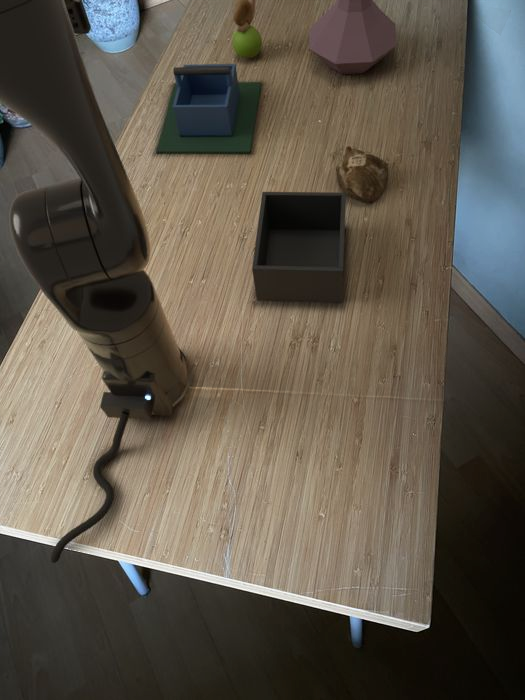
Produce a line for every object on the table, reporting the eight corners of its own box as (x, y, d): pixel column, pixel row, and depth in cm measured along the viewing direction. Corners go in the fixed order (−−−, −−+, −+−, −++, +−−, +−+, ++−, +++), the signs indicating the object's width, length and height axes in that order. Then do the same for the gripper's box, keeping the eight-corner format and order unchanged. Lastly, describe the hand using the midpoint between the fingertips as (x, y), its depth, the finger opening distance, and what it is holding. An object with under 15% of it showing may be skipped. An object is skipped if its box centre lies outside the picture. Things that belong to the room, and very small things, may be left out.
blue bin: (233, 137, 99) (226, 89, 91) (178, 137, 100) (166, 89, 93) (241, 94, 105) (234, 46, 97) (188, 95, 106) (178, 47, 98)
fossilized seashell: (340, 145, 93) (321, 196, 90) (362, 123, 87) (342, 177, 84) (379, 168, 95) (362, 220, 92) (403, 148, 89) (385, 203, 86)
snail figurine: (271, 48, 112) (266, -18, 101) (252, 67, 109) (245, 1, 99) (247, 41, 114) (240, -25, 103) (228, 59, 111) (219, -6, 101)
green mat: (250, 153, 98) (250, 151, 97) (156, 153, 99) (155, 151, 99) (261, 84, 107) (260, 81, 106) (174, 85, 108) (174, 83, 108)
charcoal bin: (341, 305, 81) (343, 271, 74) (257, 302, 82) (251, 268, 76) (344, 229, 88) (346, 192, 81) (266, 228, 89) (262, 191, 82)
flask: (326, 25, 114) (327, -94, 97) (409, 41, 109) (425, -82, 92) (292, 77, 107) (286, -42, 90) (379, 95, 102) (391, -26, 85)
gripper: (21, -181, 62) (76, -20, 76) (-25, -118, 55) (45, 47, 69) (90, -186, 61) (132, -22, 75) (52, -122, 54) (107, 46, 68)
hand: (91, 11), depth 72 cm, fingers open, 8 cm apart
